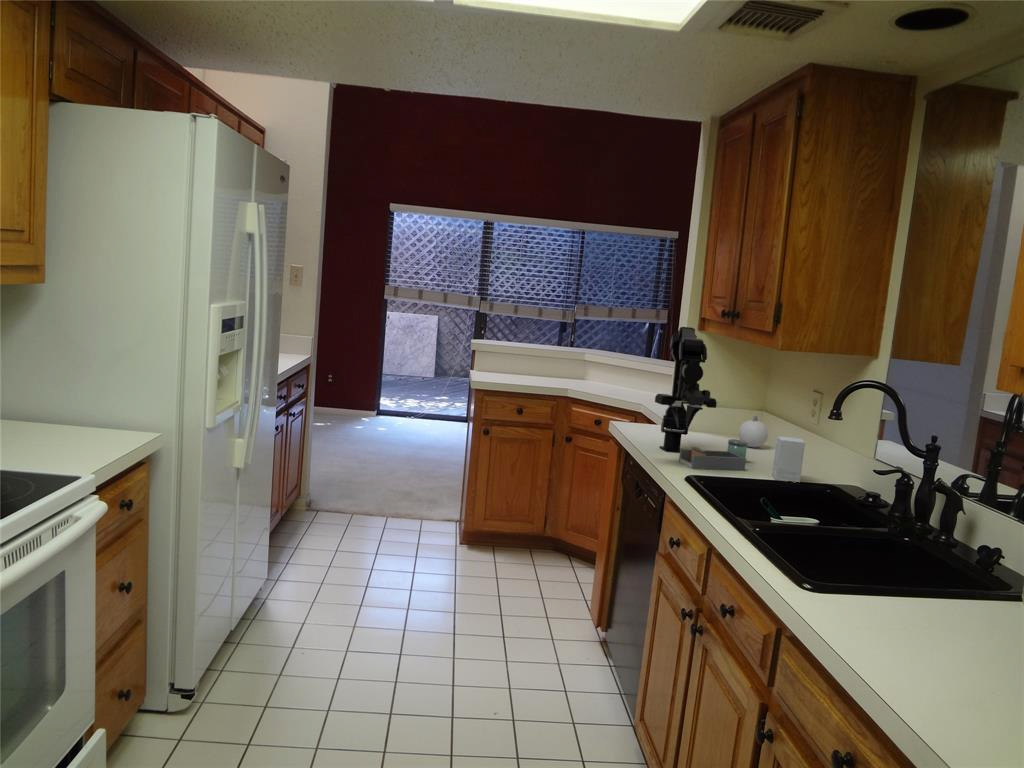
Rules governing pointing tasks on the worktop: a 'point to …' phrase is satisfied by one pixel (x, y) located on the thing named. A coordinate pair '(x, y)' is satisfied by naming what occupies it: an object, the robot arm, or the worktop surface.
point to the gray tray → (713, 460)
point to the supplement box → (788, 459)
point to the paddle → (697, 452)
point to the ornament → (753, 432)
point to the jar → (737, 447)
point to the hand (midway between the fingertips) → (682, 427)
